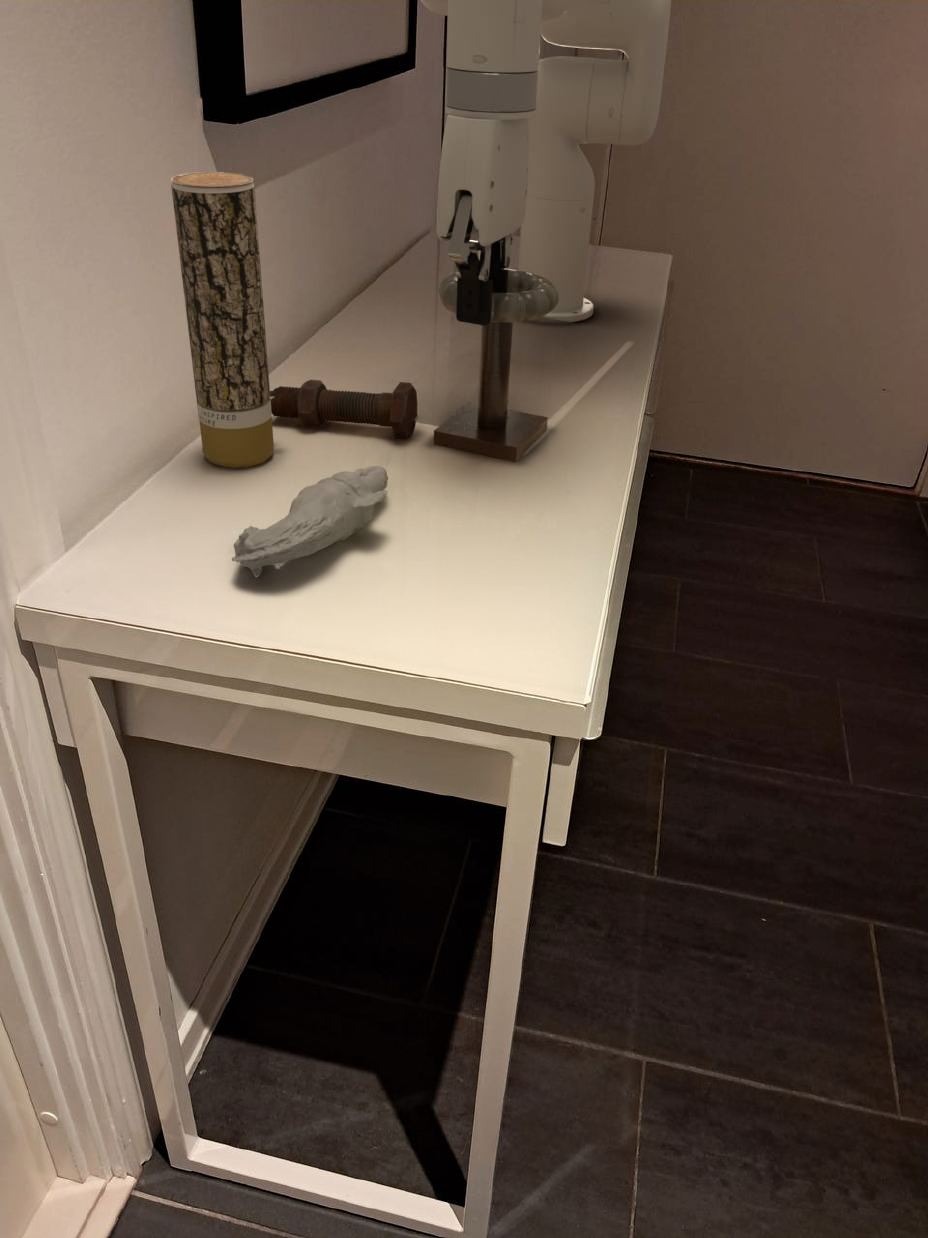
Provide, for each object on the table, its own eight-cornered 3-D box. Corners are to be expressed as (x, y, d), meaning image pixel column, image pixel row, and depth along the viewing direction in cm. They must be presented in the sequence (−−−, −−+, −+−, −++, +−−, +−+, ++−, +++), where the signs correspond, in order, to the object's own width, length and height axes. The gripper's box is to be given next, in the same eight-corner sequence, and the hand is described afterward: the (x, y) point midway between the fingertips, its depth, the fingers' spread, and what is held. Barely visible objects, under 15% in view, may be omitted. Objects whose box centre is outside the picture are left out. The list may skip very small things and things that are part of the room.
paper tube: (259, 474, 93) (235, 189, 80) (191, 465, 94) (156, 182, 81) (284, 446, 99) (266, 175, 85) (220, 438, 100) (191, 169, 86)
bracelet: (467, 286, 101) (468, 259, 100) (571, 302, 98) (574, 275, 96) (419, 313, 93) (420, 285, 91) (531, 333, 89) (533, 303, 88)
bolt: (278, 432, 106) (414, 443, 104) (260, 425, 101) (403, 437, 99) (283, 377, 106) (420, 387, 103) (265, 367, 101) (409, 378, 98)
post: (468, 414, 108) (473, 298, 101) (546, 430, 105) (557, 311, 98) (433, 444, 101) (435, 321, 94) (516, 461, 98) (524, 336, 91)
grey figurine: (287, 465, 92) (200, 536, 75) (402, 435, 89) (340, 503, 72) (306, 516, 94) (225, 598, 76) (419, 489, 91) (363, 568, 73)
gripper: (487, 83, 89) (478, 290, 100) (406, 99, 77) (405, 335, 87) (566, 89, 87) (548, 301, 97) (495, 108, 74) (484, 349, 85)
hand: (481, 315), depth 92 cm, fingers closed on bracelet, 3 cm apart
